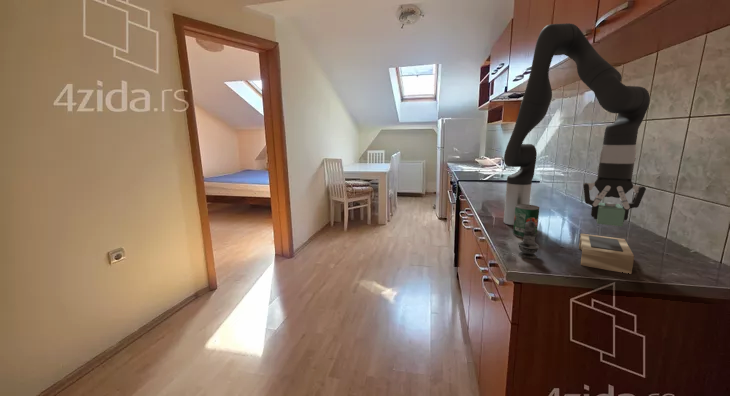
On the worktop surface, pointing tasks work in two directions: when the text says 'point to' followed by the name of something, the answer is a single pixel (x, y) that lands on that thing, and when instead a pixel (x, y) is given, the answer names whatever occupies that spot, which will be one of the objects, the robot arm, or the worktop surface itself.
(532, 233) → the grey chess piece
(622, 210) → the housing
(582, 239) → the stand
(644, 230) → the worktop surface
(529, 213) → the canned tomato
